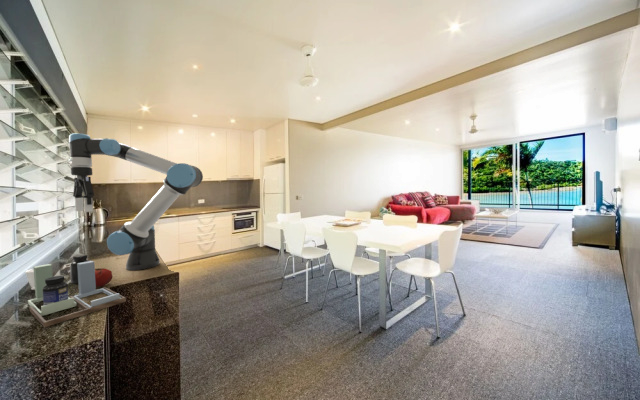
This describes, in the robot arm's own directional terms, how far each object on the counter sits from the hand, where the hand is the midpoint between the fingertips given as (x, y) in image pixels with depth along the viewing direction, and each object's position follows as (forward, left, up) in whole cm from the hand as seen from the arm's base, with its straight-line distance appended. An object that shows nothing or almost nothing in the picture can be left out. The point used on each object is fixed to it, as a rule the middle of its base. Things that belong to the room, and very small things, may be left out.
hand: (84, 211), depth 124 cm
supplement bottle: (+4, +6, -32) cm, 33 cm away
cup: (+16, -1, -32) cm, 36 cm away
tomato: (+2, +22, -32) cm, 39 cm away
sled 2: (+8, +39, -32) cm, 51 cm away
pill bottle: (+18, +36, -32) cm, 51 cm away
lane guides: (+13, +40, -32) cm, 53 cm away
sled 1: (+18, +29, -32) cm, 47 cm away
